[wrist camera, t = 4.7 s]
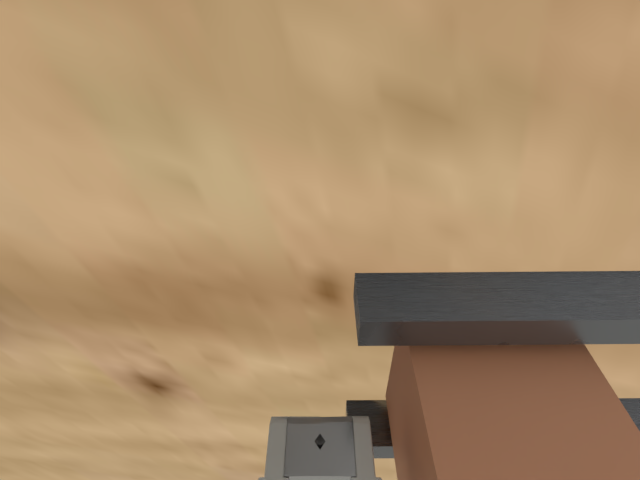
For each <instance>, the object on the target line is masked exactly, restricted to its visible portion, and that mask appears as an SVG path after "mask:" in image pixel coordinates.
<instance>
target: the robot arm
mask: <svg viewBox="0 0 640 480" xmlns="http://www.w3.org/2000/svg"><path fill="white" fill-rule="evenodd" d="M258 480H382V479H381V477H376V474H375V465H374V455H373V445H372V435H371V426H370V420H369V417H368V416H341V417H296V416H289V417H288V416H284V417H271V421H270V425H269V435H268V445H267V455H266V464H265V474H264V477H259V479H258Z"/></svg>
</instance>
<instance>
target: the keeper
mask: <svg viewBox="0 0 640 480" xmlns="http://www.w3.org/2000/svg"><path fill="white" fill-rule="evenodd" d="M385 396H386V403H387V410H388V417H389V424H390V431H391V438H392V445H393V452H394V459H395V466H396V473H397V480H640V431H639V429H638V428H637V426H636V425H635V423H634V422H633V420H632V418H631V417H630V415H629V414H628V412H627V411H626V409H625V407H624V406H623V404H622V403H621V401H620V400H619V398H618V396H617V395H616V393H615V392H614V390H613V389H612V387H611V385H610V384H609V382H608V381H607V379H606V378H605V376H604V374H603V373H602V371H601V370H600V368H599V367H598V365H597V363H596V362H595V360H594V359H593V357H592V356H591V354H590V352H589V351H588V349H587V348H586V346H585V345H584V344H565V345H430V346H394V351H393V357H392V362H391V368H390V373H389V379H388V384H387V390H386V395H385Z"/></svg>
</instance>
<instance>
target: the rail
mask: <svg viewBox="0 0 640 480" xmlns="http://www.w3.org/2000/svg"><path fill="white" fill-rule="evenodd" d="M353 298H354V309H355V320H356V330H357V341H358V346H430V345H565V344H640V271H550V272H420V273H355V280H354V295H353ZM619 400H620V401H621V403H622V404H623V406H624V407H625V409H626V411H627V412H628V414H629V415H630V417H631V418H632V420H633V422H634V423H635V425H636V426H637V428H638V429H639V431H640V398H619ZM346 416H368V417H369V420H370V426H371V435H372V445H373V455H374V458H394V452H393V445H392V438H391V431H390V424H389V417H388V410H387V403H386V400H346Z"/></svg>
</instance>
